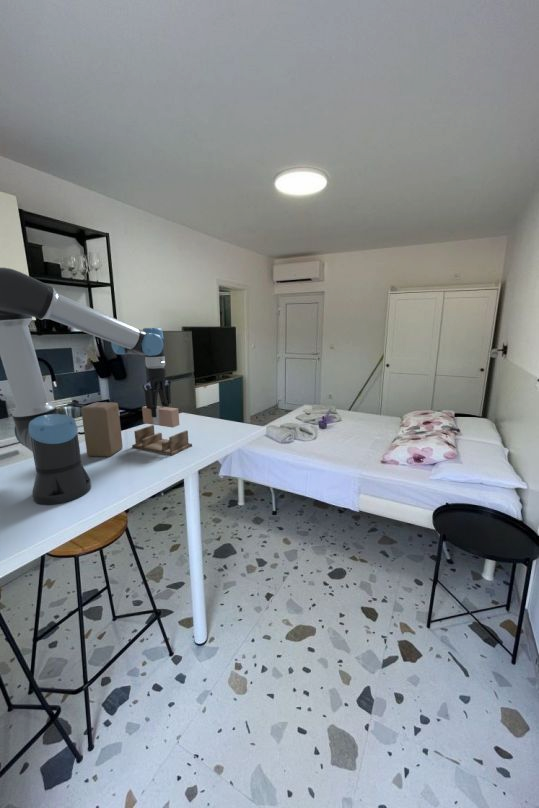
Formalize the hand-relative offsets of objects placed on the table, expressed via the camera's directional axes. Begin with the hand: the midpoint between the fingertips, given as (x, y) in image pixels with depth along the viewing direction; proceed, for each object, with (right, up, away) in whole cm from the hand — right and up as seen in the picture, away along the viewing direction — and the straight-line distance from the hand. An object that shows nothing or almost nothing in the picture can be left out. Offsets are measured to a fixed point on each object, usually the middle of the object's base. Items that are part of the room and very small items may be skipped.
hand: (160, 422), depth 139 cm
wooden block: (-21, -12, -4) cm, 24 cm away
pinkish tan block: (0, 0, 0) cm, 1 cm away
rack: (0, -10, +2) cm, 10 cm away
